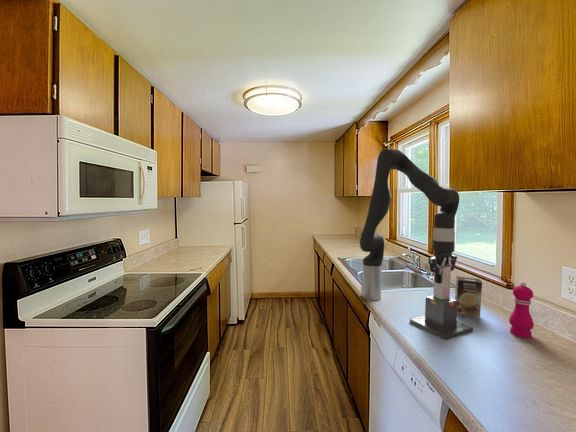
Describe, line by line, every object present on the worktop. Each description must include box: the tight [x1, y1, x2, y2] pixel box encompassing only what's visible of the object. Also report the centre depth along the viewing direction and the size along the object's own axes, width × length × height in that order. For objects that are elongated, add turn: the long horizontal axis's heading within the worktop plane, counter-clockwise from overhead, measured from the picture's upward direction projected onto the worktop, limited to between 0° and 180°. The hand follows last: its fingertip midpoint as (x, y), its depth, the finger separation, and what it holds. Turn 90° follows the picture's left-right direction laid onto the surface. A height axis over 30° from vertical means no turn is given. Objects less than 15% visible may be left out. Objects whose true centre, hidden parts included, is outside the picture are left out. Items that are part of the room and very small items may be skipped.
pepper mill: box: [508, 281, 535, 339], centre depth 109 cm, size 7×7×20 cm
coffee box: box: [454, 276, 483, 320], centre depth 126 cm, size 9×6×16 cm
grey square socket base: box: [409, 294, 474, 341], centre depth 115 cm, size 16×16×12 cm
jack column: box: [433, 264, 452, 301], centre depth 114 cm, size 4×4×18 cm
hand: (441, 282), depth 114 cm, fingers closed on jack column, 4 cm apart
